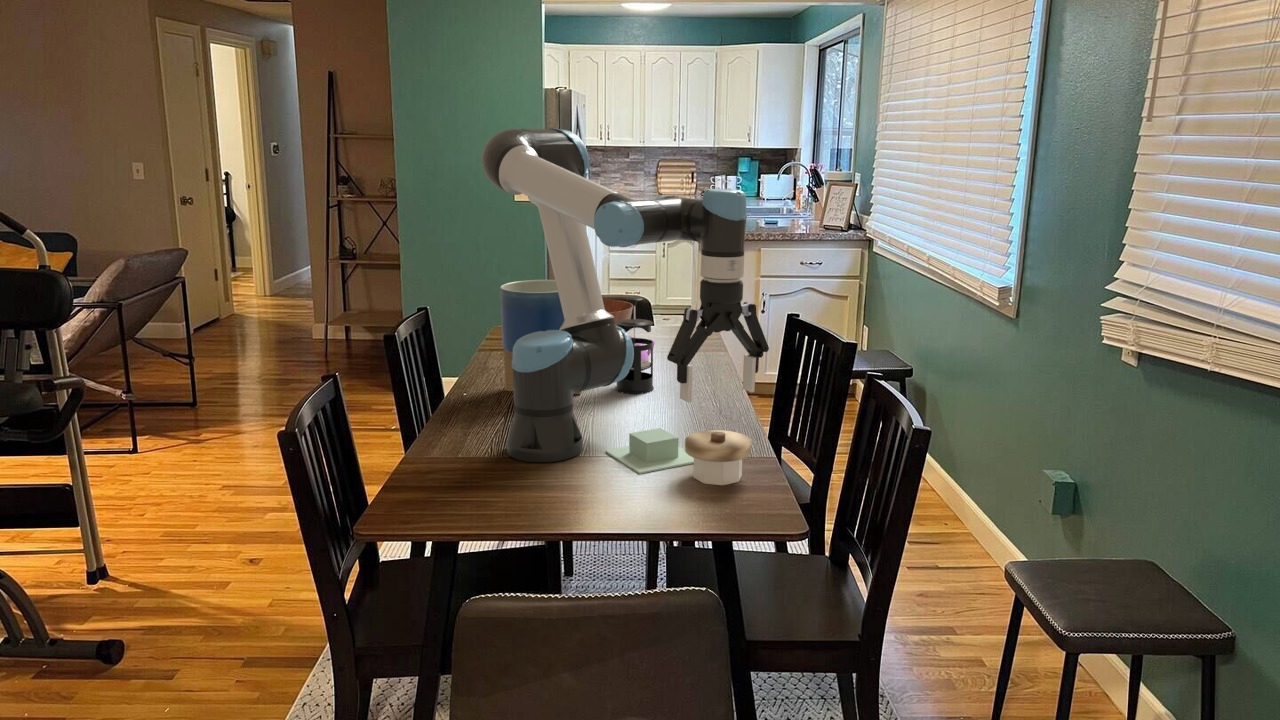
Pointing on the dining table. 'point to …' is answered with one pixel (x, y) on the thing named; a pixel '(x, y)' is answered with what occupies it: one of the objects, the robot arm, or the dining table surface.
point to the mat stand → (651, 451)
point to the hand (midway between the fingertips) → (717, 395)
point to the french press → (637, 357)
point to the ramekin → (717, 472)
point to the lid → (718, 446)
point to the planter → (527, 315)
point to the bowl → (618, 309)
